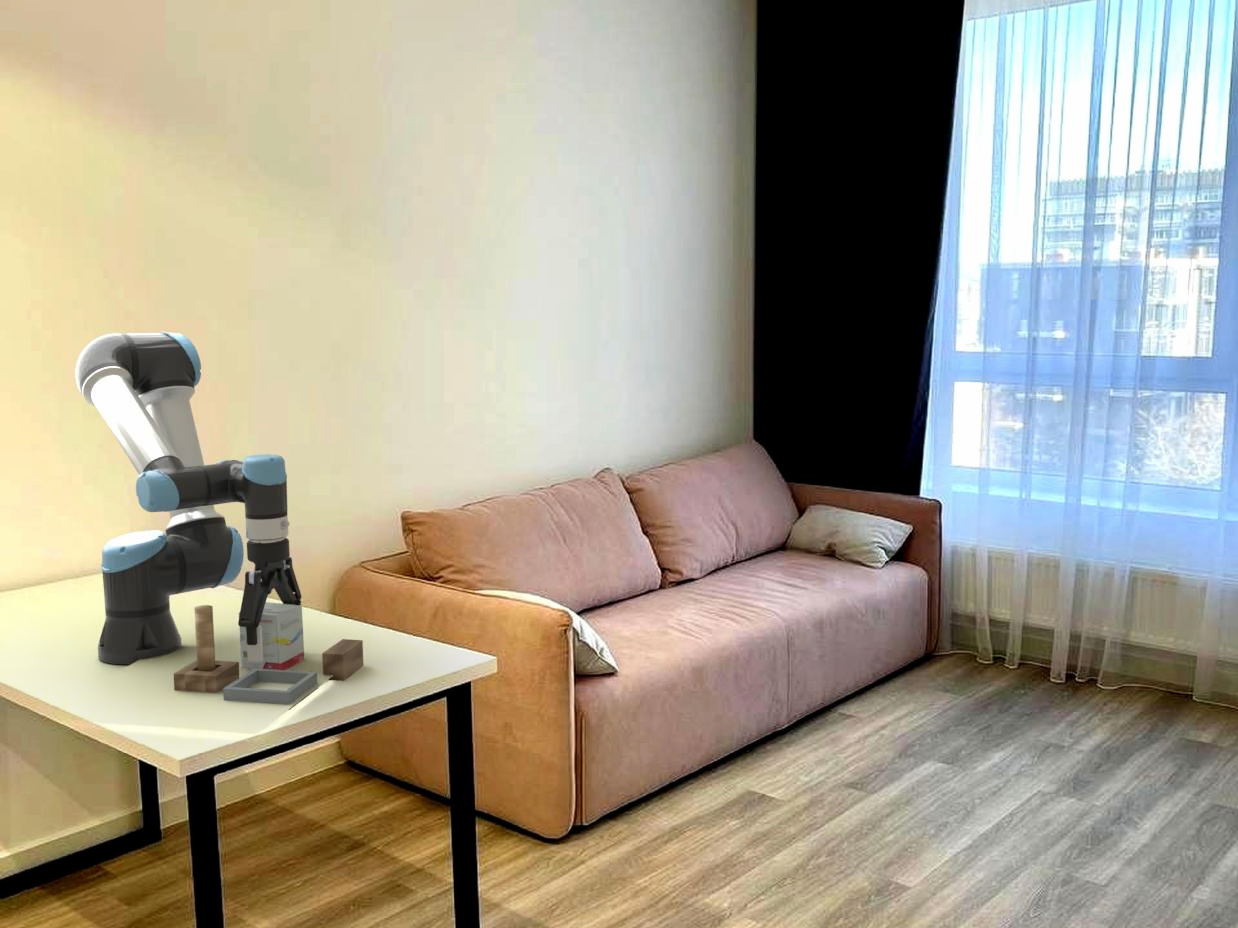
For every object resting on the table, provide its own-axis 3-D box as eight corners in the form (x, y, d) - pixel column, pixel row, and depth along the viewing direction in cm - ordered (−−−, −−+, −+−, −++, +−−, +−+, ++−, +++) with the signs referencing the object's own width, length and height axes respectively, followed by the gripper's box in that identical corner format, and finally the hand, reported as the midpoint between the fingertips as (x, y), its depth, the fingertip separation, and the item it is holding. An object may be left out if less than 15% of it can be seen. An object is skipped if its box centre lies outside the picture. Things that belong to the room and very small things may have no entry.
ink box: (306, 664, 219) (303, 603, 217) (279, 678, 211) (276, 615, 209) (268, 659, 222) (265, 599, 220) (239, 673, 214) (236, 611, 212)
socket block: (174, 695, 202) (173, 673, 201) (199, 680, 210) (197, 659, 209) (216, 698, 200) (215, 676, 200) (239, 683, 208) (238, 661, 208)
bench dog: (323, 679, 210) (322, 653, 209) (343, 664, 219) (342, 639, 218) (343, 681, 209) (342, 654, 209) (363, 665, 218) (362, 640, 217)
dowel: (195, 686, 204) (191, 609, 202) (204, 680, 207) (200, 604, 205) (210, 687, 203) (206, 609, 201) (219, 681, 206) (215, 605, 204)
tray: (223, 705, 197) (223, 688, 196) (255, 684, 208) (254, 668, 207) (289, 709, 195) (288, 692, 194) (317, 688, 205) (317, 672, 205)
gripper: (253, 553, 200) (259, 671, 203) (316, 526, 224) (320, 632, 227) (213, 552, 201) (220, 669, 204) (280, 525, 226) (285, 630, 229)
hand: (273, 650), depth 216 cm, fingers open, 13 cm apart
